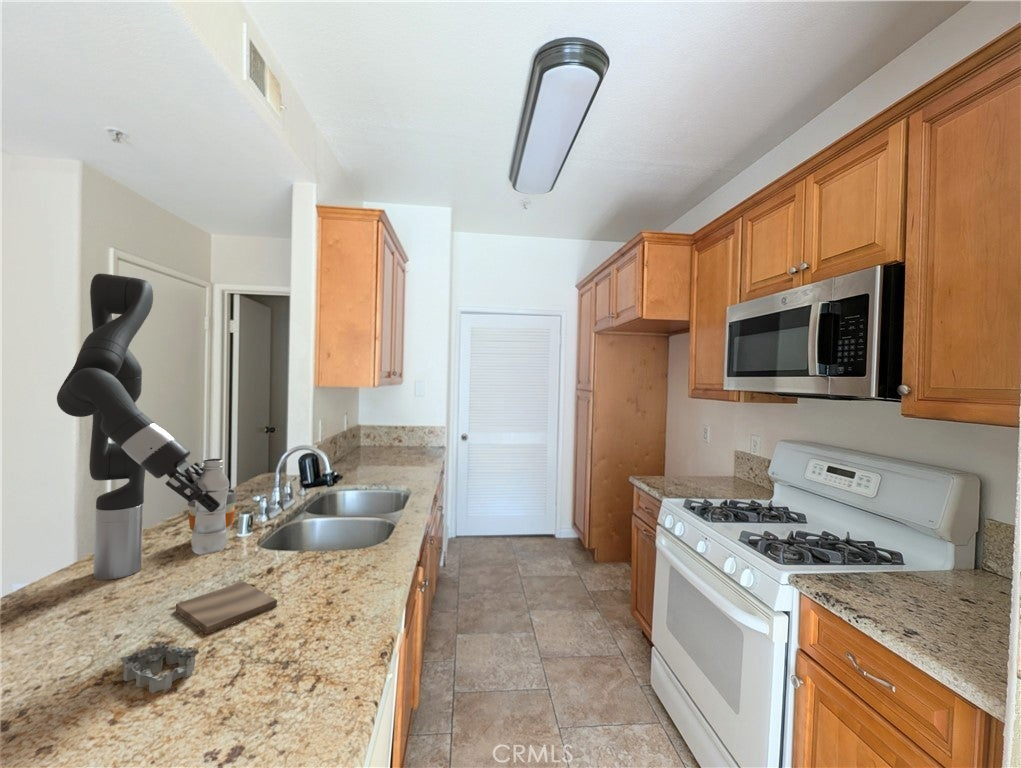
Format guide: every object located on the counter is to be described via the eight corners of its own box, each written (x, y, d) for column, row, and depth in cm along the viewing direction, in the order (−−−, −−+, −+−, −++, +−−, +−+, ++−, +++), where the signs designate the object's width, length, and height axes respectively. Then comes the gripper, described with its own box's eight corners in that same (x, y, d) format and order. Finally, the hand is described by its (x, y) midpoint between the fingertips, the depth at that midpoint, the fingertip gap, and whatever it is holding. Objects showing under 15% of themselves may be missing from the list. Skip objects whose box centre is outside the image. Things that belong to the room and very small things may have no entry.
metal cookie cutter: (201, 672, 78) (202, 649, 78) (152, 700, 71) (153, 674, 71) (165, 654, 82) (166, 632, 82) (115, 678, 75) (116, 654, 75)
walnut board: (175, 610, 97) (175, 603, 97) (243, 587, 108) (243, 581, 108) (207, 634, 88) (207, 626, 88) (276, 606, 100) (276, 599, 100)
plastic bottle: (208, 560, 92) (213, 464, 91) (182, 555, 93) (186, 461, 93) (234, 549, 98) (238, 458, 98) (209, 545, 99) (213, 456, 99)
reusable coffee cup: (201, 534, 143) (203, 487, 143) (242, 534, 144) (244, 488, 144) (176, 549, 130) (178, 498, 130) (221, 549, 131) (223, 498, 131)
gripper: (159, 442, 86) (227, 500, 90) (184, 433, 100) (242, 484, 104) (124, 470, 84) (195, 528, 89) (154, 457, 98) (215, 507, 102)
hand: (220, 504), depth 96 cm, fingers closed on plastic bottle, 6 cm apart
